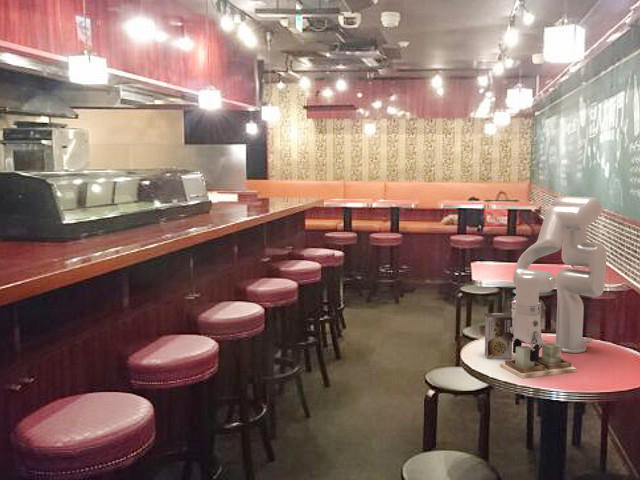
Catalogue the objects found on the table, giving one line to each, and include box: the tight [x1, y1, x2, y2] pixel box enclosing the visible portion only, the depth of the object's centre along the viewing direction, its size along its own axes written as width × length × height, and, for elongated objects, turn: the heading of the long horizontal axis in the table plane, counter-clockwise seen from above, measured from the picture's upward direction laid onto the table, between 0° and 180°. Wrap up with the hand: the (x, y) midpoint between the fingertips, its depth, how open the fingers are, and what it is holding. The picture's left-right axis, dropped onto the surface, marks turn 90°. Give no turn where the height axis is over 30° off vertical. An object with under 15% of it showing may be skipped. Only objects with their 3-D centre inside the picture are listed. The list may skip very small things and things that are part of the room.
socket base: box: [499, 342, 578, 379], centre depth 215 cm, size 22×13×8 cm, turn 107°
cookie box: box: [484, 312, 513, 360], centre depth 230 cm, size 9×6×16 cm
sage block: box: [514, 345, 534, 368], centre depth 214 cm, size 4×4×7 cm
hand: (525, 356), depth 214 cm, fingers open, 9 cm apart
